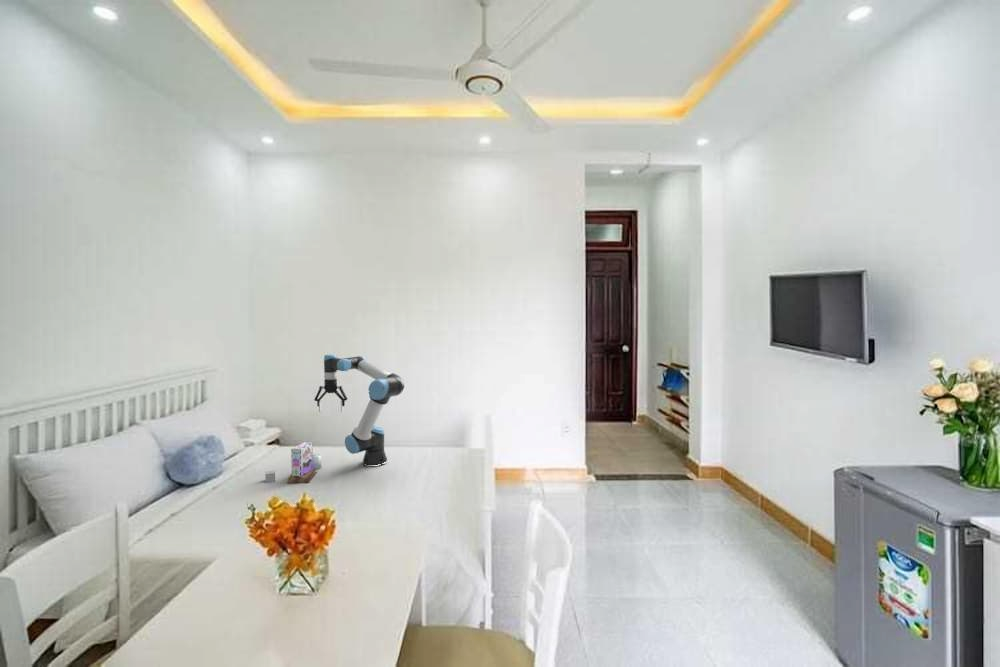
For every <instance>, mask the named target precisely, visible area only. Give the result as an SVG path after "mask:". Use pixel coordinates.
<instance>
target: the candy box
mask: <svg viewBox="0 0 1000 667" xmlns="http://www.w3.org/2000/svg"><path fill="white" fill-rule="evenodd" d="M313 448H314V447H313V442H305V441H303V442H302V443H300V444H298V445H296V446H294V447H292V448H291V449H290V450H291V474H292V476H295V477H301V476H303V475H305V474H306V473H308V472H309V471H311V470H313V454H314V452H313Z"/></svg>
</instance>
